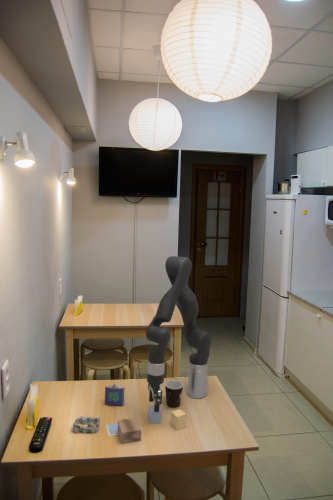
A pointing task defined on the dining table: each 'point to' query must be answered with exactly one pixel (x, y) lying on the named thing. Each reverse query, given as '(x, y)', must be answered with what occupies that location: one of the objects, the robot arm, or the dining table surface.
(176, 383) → the coffee mug
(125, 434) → the base block
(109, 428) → the tile
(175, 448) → the dining table surface
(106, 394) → the flask
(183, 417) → the ochre block
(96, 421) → the egg carton
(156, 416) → the blue block
